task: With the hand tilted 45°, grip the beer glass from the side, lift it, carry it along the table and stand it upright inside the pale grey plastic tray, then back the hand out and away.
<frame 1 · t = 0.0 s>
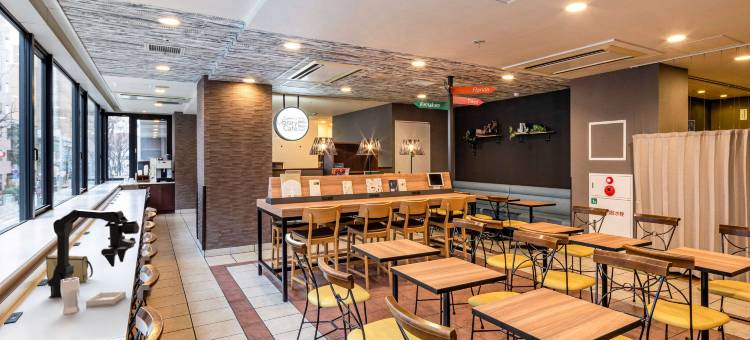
hand: (117, 264, 212), 15 cm above the counter, tool pointing down, fingers open, 9 cm apart
clutch purse: (70, 280, 237), on the counter
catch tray: (106, 301, 198), on the counter
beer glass: (71, 312, 185), on the counter
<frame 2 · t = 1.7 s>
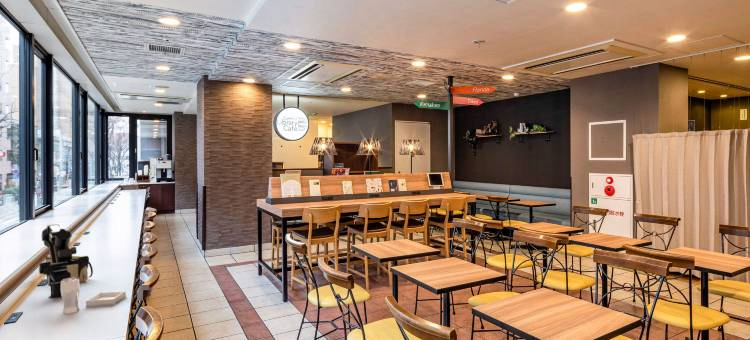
hand: (67, 279, 191), 13 cm above the counter, tool tilted 45°, fingers open, 9 cm apart
nothing on the counter moved.
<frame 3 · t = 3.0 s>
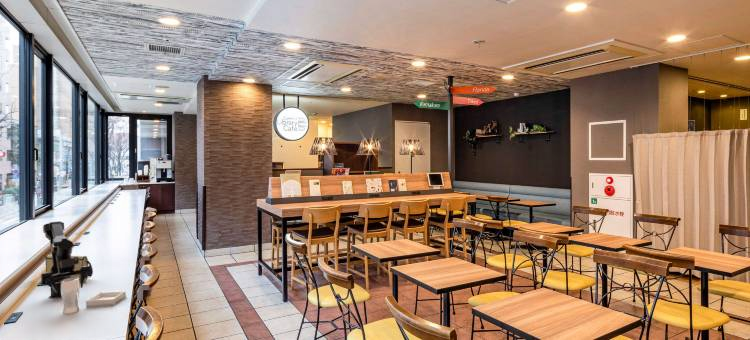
hand: (69, 290, 186), 10 cm above the counter, tool tilted 45°, fingers open, 9 cm apart
nothing on the counter moved.
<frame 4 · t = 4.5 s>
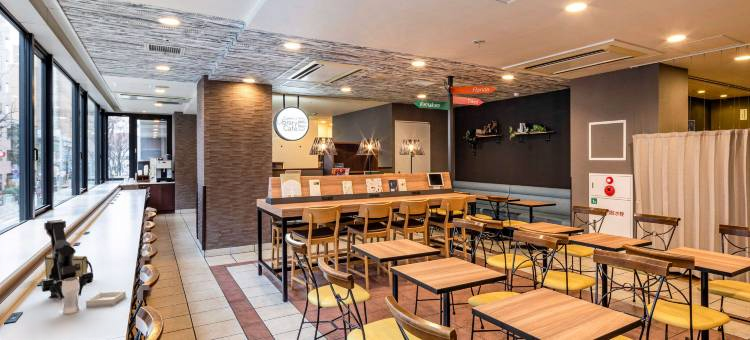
hand: (71, 297, 184), 7 cm above the counter, tool tilted 45°, fingers closed on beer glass, 6 cm apart
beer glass: (71, 312, 185), on the counter, touching gripper
everything else where it was.
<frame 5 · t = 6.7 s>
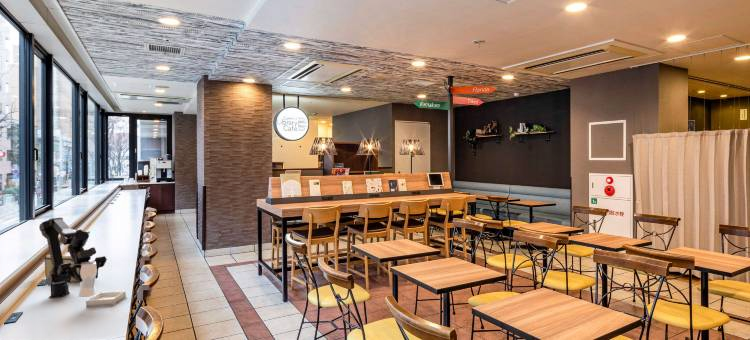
hand: (88, 279, 189), 13 cm above the counter, tool tilted 45°, fingers closed on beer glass, 6 cm apart
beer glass: (86, 295, 190), point 6 cm above the counter, touching gripper
everything else where it was.
when the fingers open (9 cm above the counter, at t = 8.9 s): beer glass stays where it is, resting on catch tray.
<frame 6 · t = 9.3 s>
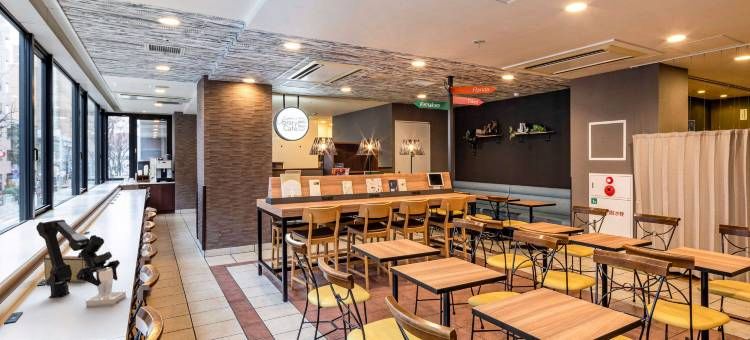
hand: (107, 282, 197), 10 cm above the counter, tool tilted 45°, fingers open, 9 cm apart
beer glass: (105, 300, 197), point 1 cm above the counter, touching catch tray
everything else where it was.
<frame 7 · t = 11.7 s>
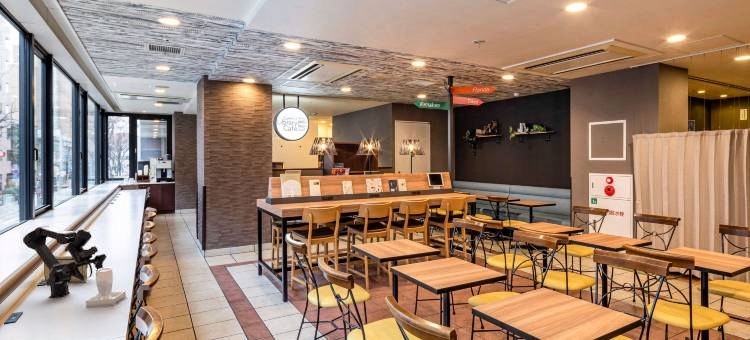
hand: (93, 276, 200), 12 cm above the counter, tool tilted 40°, fingers open, 9 cm apart
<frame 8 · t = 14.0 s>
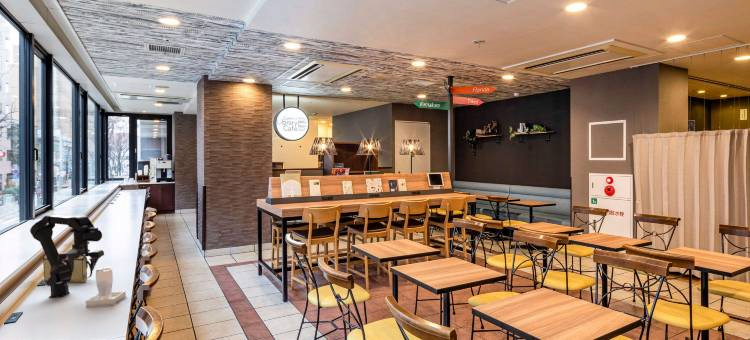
hand: (82, 271, 205), 13 cm above the counter, tool pointing down, fingers open, 9 cm apart
at the end: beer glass inside the target area on the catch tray (0.5 cm from its centre), point 0.8 cm above the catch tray's base; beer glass tilted 0°; the gripper is holding nothing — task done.
